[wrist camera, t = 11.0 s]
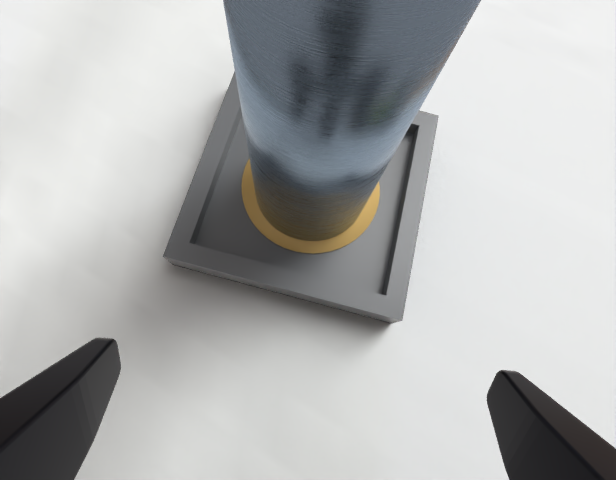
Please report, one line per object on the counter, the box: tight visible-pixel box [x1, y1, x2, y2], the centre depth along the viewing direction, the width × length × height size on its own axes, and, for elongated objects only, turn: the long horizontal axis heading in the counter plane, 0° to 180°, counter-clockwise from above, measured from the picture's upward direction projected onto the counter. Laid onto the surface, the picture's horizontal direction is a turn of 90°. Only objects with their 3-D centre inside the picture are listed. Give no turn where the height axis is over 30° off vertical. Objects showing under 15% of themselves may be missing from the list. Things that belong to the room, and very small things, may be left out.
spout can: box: [223, 0, 481, 241], centre depth 11 cm, size 6×6×16 cm
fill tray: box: [163, 72, 438, 323], centre depth 19 cm, size 11×11×2 cm
